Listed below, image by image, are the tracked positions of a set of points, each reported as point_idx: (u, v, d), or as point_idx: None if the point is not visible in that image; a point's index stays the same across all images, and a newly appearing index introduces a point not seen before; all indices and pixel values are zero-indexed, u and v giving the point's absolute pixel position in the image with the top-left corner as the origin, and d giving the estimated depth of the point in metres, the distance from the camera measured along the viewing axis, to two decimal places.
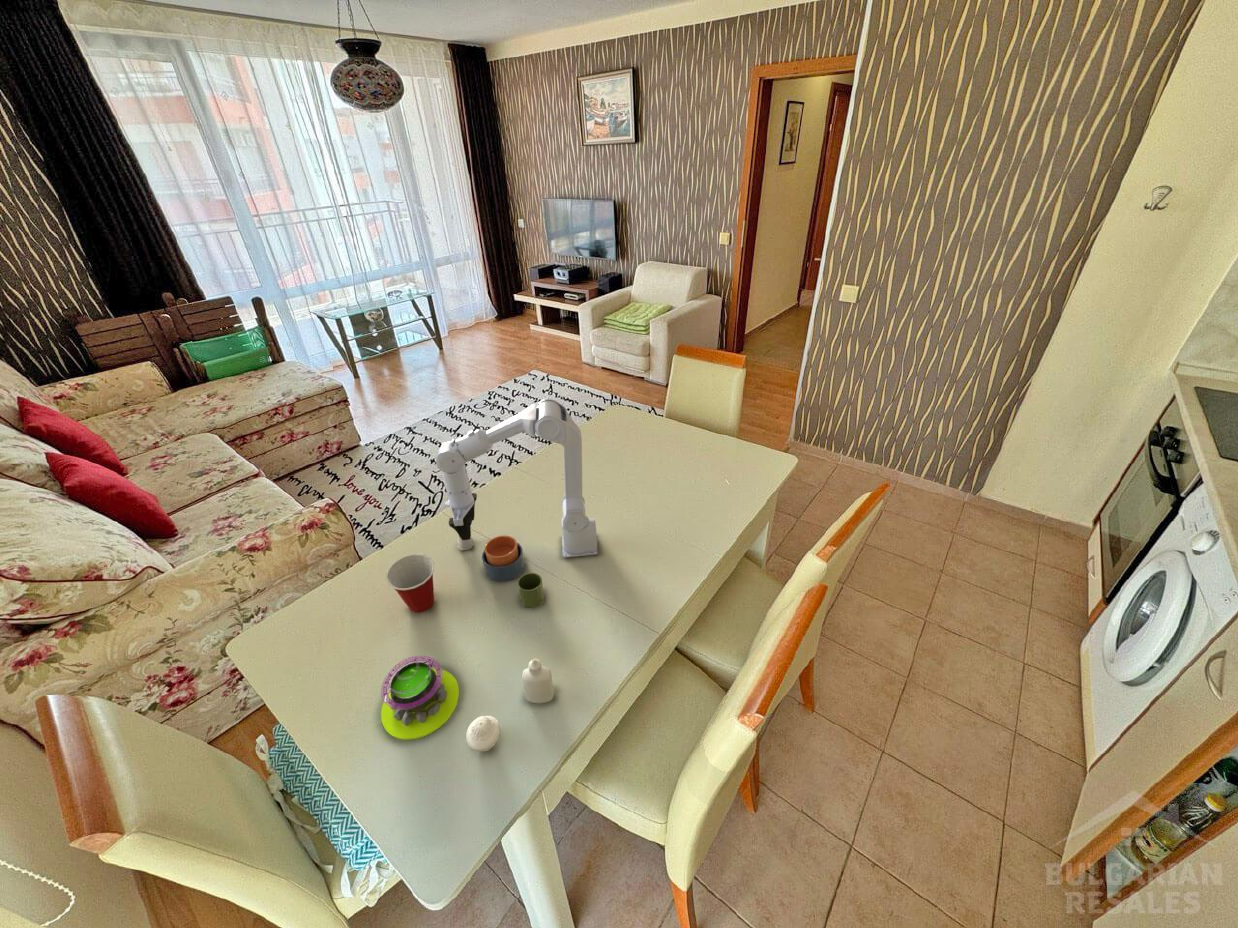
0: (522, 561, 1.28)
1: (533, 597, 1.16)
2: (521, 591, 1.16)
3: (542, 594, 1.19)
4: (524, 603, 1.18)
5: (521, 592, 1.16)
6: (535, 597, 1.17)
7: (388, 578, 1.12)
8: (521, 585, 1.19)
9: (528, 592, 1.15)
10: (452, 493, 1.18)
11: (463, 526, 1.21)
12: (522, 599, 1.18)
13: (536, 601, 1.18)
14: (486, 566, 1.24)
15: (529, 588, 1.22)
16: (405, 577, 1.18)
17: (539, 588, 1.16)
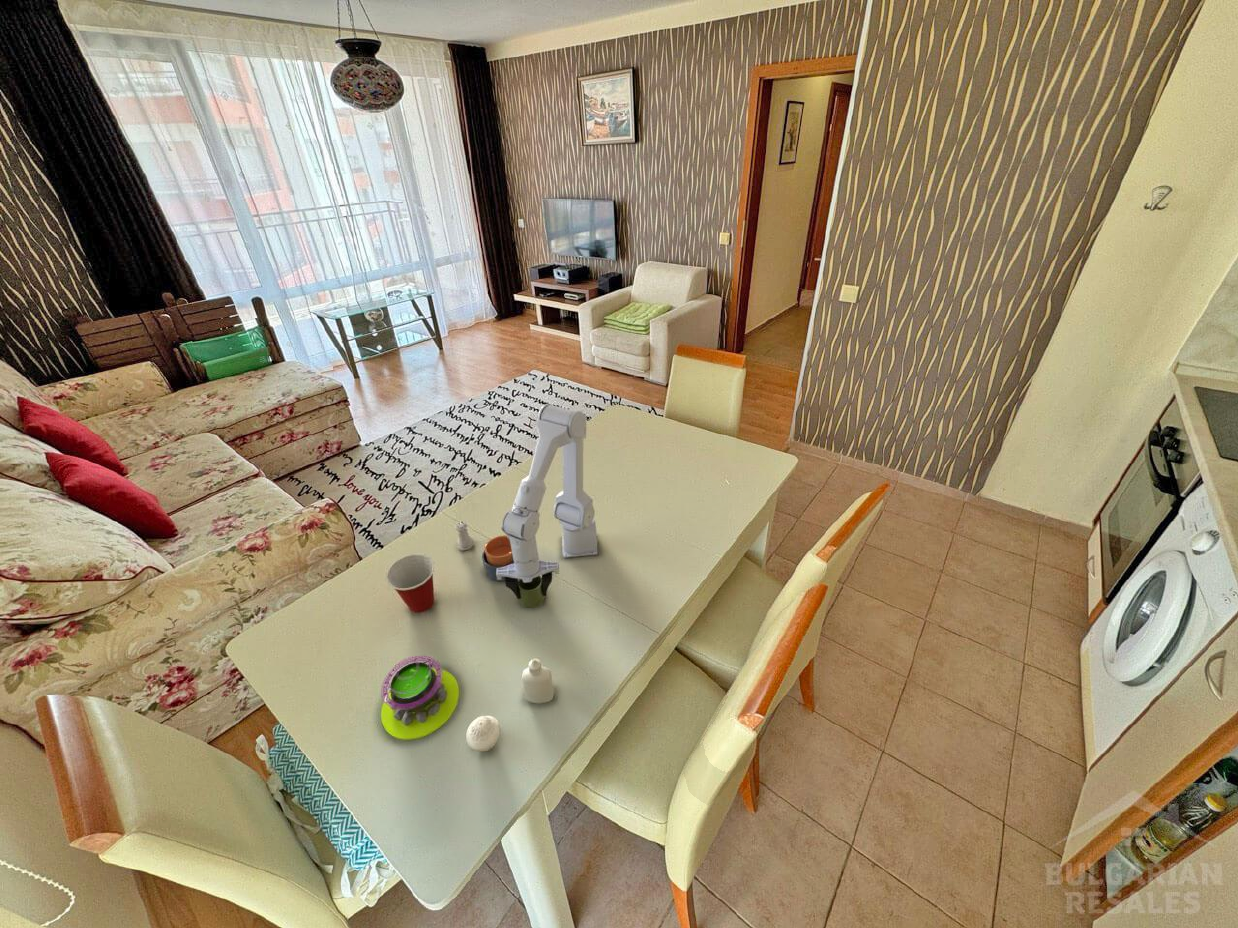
0: None
1: (533, 597, 1.16)
2: (521, 591, 1.16)
3: (542, 594, 1.19)
4: (524, 603, 1.18)
5: (521, 592, 1.16)
6: (535, 597, 1.17)
7: (388, 578, 1.12)
8: (521, 585, 1.19)
9: (528, 592, 1.15)
10: (536, 555, 1.12)
11: None
12: (522, 599, 1.18)
13: (536, 601, 1.18)
14: (486, 566, 1.24)
15: (529, 588, 1.22)
16: (405, 577, 1.18)
17: (539, 588, 1.16)
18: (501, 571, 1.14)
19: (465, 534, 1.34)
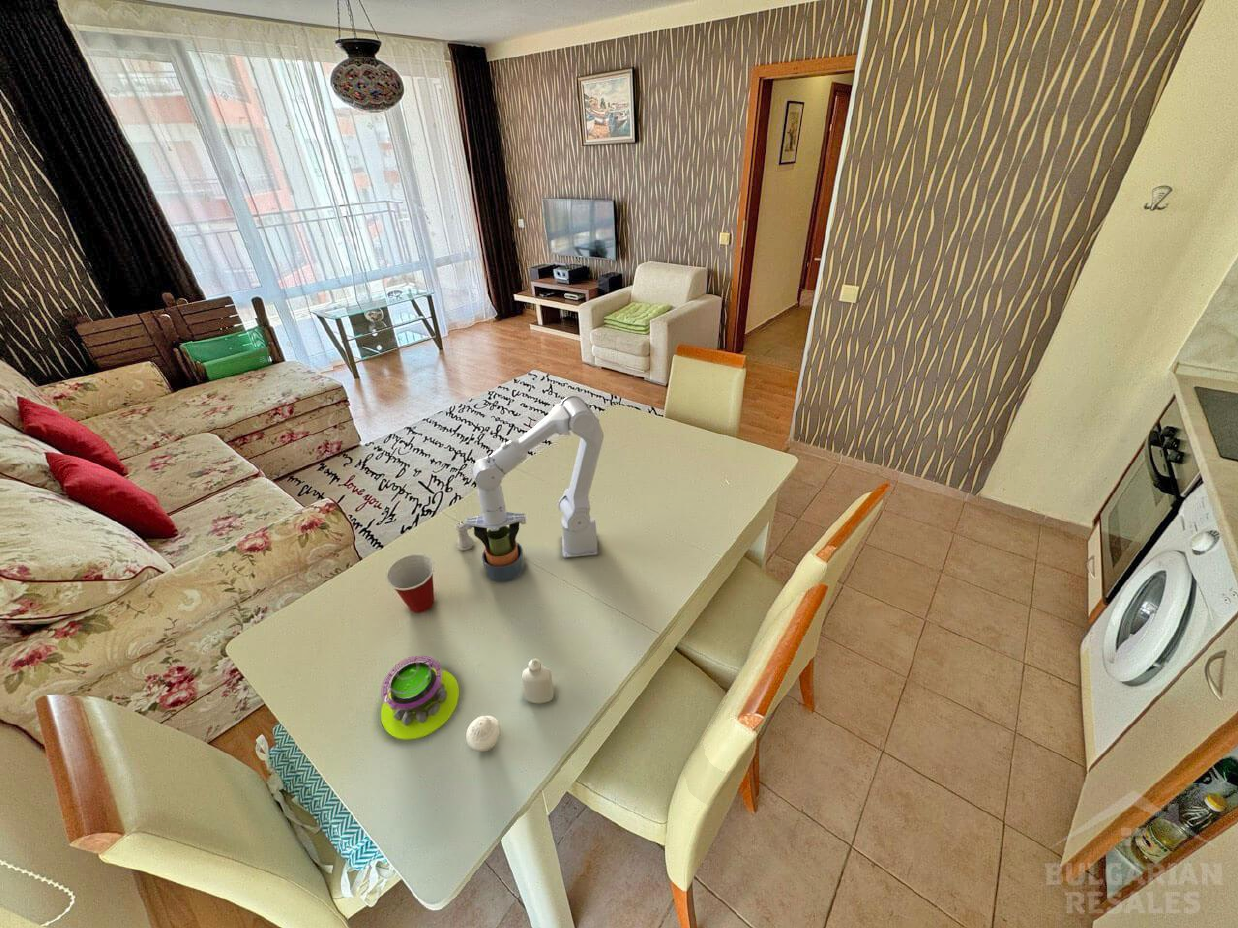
0: (522, 561, 1.28)
1: (501, 547, 1.22)
2: (490, 541, 1.22)
3: (510, 545, 1.25)
4: (493, 553, 1.24)
5: (490, 542, 1.22)
6: (503, 547, 1.23)
7: (388, 578, 1.12)
8: (491, 537, 1.25)
9: (496, 542, 1.21)
10: (503, 505, 1.18)
11: None
12: (491, 549, 1.23)
13: (504, 551, 1.23)
14: (486, 566, 1.24)
15: None
16: (405, 577, 1.18)
17: (507, 538, 1.22)
18: (470, 521, 1.20)
19: (465, 534, 1.34)
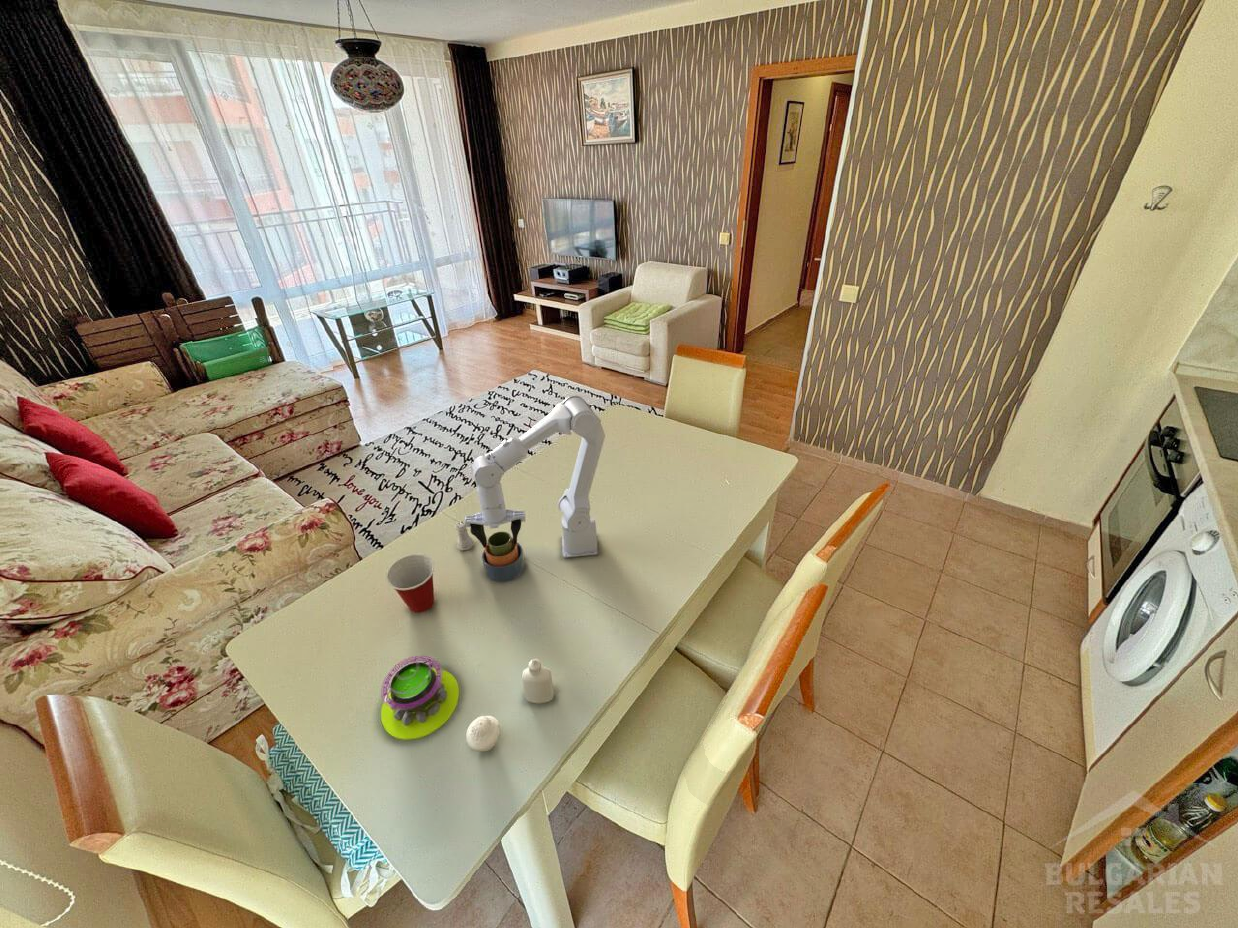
0: (522, 561, 1.28)
1: (502, 553, 1.23)
2: (491, 547, 1.23)
3: (511, 551, 1.26)
4: None
5: (491, 548, 1.23)
6: (504, 553, 1.24)
7: (388, 578, 1.12)
8: (492, 543, 1.26)
9: (497, 548, 1.22)
10: (502, 502, 1.17)
11: None
12: (492, 555, 1.25)
13: None
14: (486, 566, 1.24)
15: None
16: (405, 577, 1.18)
17: (508, 544, 1.23)
18: (469, 519, 1.20)
19: (465, 534, 1.34)
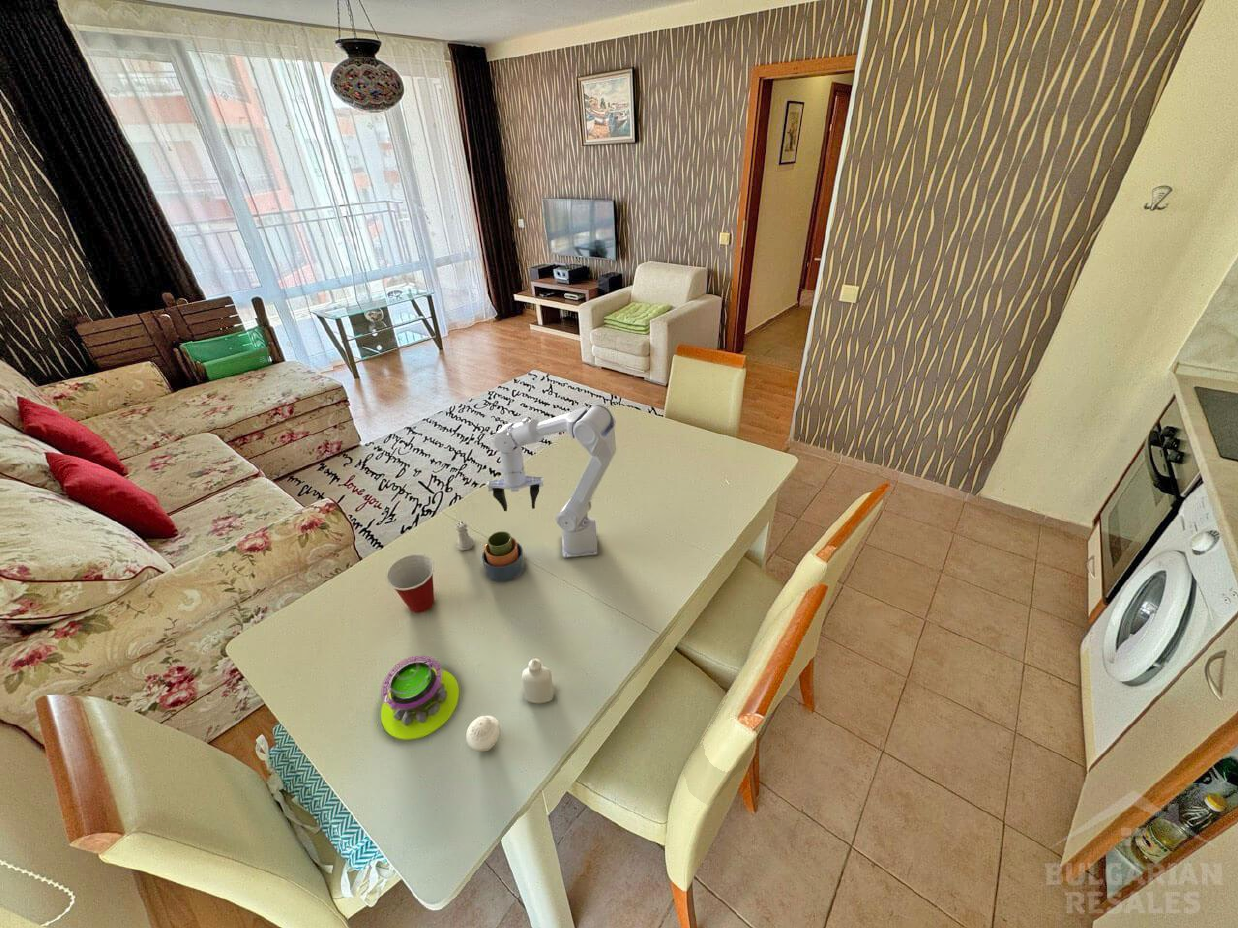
0: (522, 561, 1.28)
1: (502, 553, 1.23)
2: (491, 547, 1.23)
3: (511, 551, 1.26)
4: None
5: (491, 548, 1.23)
6: (504, 553, 1.24)
7: (388, 578, 1.12)
8: (492, 543, 1.26)
9: (497, 548, 1.22)
10: (523, 467, 1.28)
11: None
12: (492, 555, 1.25)
13: None
14: (486, 566, 1.24)
15: None
16: (405, 577, 1.18)
17: (508, 544, 1.23)
18: (492, 483, 1.30)
19: (465, 534, 1.34)
